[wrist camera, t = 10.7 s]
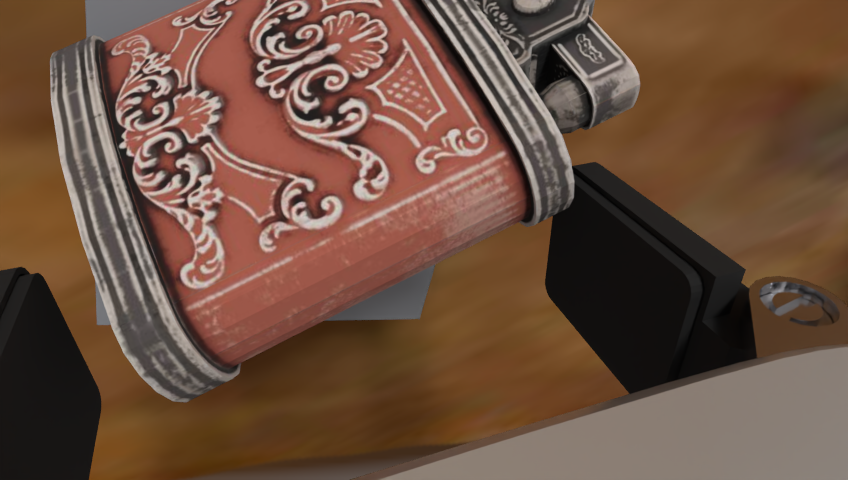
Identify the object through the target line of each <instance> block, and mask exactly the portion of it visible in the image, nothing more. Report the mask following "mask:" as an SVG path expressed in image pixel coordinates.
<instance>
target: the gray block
mask: <svg viewBox="0 0 848 480" xmlns="http://www.w3.org/2000/svg"><path fill="white" fill-rule="evenodd" d="M196 1H199V0H85V4H86V32H87V38H88V37H90V36H93V35H95V36H99V37H101V38H102V39H103V40H104V41H108V40H110V39H113V38H115V37H117V36H119V35H122V34H124V33H126V32H128V31H131V30H133V29H135V28H138V27H140V26H142V25H144V24H147V23H149V22H151V21H153V20H156V19H158V18H160V17H162V16H165V15H167V14H169V13H171V12H174V11H176V10H178V9H181V8H183V7H185V6H187V5H190V4H192V3H194V2H196ZM434 267H435V265H433V266H431V267H429V268H427V269H425V270H423V271H421V272H419V273H417V274H415V275H413V276H411V277H409V278H407V279H405V280H403V281H401V282H399V283H397V284H395V285H393V286H391V287H389V288H387V289H385V290H383V291H381V292H379V293H377V294H375V295H373V296H371V297H369V298H368V299H366V300H364V301H362V302H360V303H358V304H356V305H354V306H352V307H350V308H348V309H346V310H344V311H342V312H340V313H338V314H336V315H334V316H332V317H330V318H328V319H326V320H324V321H332V320H386V319H420V315H421V312H422V308H423V305H424V302H425V298H426V295H427V291H428V288H429V284H430V281H431V277H432V274H433V271H434ZM95 282H96V280H95ZM96 310H97V325H111V323H110V320H109V318H108V315H107V312H106V309H105V306H104V303H103V300H102V297H101V295H100V292H99V289H98V286H97V283H96Z"/></svg>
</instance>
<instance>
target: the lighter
mask: <svg viewBox="0 0 848 480" xmlns="http://www.w3.org/2000/svg"><path fill="white" fill-rule="evenodd" d="M594 2H595V0H199V1H196V2H194V3H192V4H190V5H187V6H185V7H183V8H181V9H178V10H176V11H174V12H171V13H169V14H167V15H165V16H162V17H160V18H158V19H156V20H153V21H151V22H149V23H147V24H144V25H142V26H140V27H138V28H135V29H133V30H131V31H128V32H126V33H124V34H122V35H119V36H117V37H115V38H113V39H110V40H108V41H104V40H103V39H102V38H101V37H99V36H95V35H93V36H90V37H88V38H86V39H83V40H81V41H79V42H77V43H74V44H72V45H70V46H68V47H65V48H63V49H61V50H58V51H56V52H54V53H53V54H52V56H51V58H50V75H51V104H52V111H53V117H54V123H55V130H56V136H57V142H58V149H59V155H60V162H61V166H62V169H63V173H64V177H65V180H66V184H67V188H68V191H69V195H70V199H71V203H72V206H73V210H74V214H75V217H76V221H77V225H78V228H79V232H80V236H81V240H82V243H83V246H84V249H85V251H86V254H87V257H88V260H89V263H90V266H91V269H92V272H93V274H94V277H95V280H96V283H97V286H98V289H99V292H100V295H101V297H102V300H103V303H104V306H105V309H106V312H107V315H108V318H109V320H110V323H111V326H112V329H113V331H114V333H115V336H116V338H117V340H118V342H119V344H120V346H121V348H122V350H123V353H124V354H125V356H126V357H127V358H128V360H129V361H130V363H131V364H132V365H133V367H134V368H135V370H136V371H137V373H138V374H139V375H140V376H141V377H142V378H143V379H144V380H145V381H146V382H147V383H148V384H149V385H150V386H151V387H152V388H153V389H154V390H155V391H156V392H157V393H159V394H161V395H163V396H165V397H166V398H168V399H170V400H172V401H176V402H188V401H190V400H192V399H194V398H196V397H198V396H199V395H201V394H203V393H205V392H207V391H209V390H211V389H213V388H215V387H217V386H219V385H221V384H223V383H225V382H227V381H229V380H231V379H233V378H234V377H235V376H237V375H238V374H239V373H240V367H241V362H243V361H245V360H247V359H249V358H251V357H253V356H255V355H257V354H259V353H261V352H263V351H265V350H267V349H269V348H271V347H273V346H275V345H277V344H279V343H281V342H283V341H285V340H287V339H289V338H291V337H293V336H295V335H297V334H299V333H301V332H302V331H304V330H306V329H308V328H310V327H312V326H314V325H316V324H318V323H320V322H322V321H324V320H326V319H328V318H330V317H332V316H334V315H336V314H338V313H340V312H342V311H344V310H346V309H348V308H350V307H352V306H354V305H356V304H358V303H360V302H362V301H364V300H366V299H368V298H369V297H371V296H373V295H375V294H377V293H379V292H381V291H383V290H385V289H387V288H389V287H391V286H393V285H395V284H397V283H399V282H401V281H403V280H405V279H407V278H409V277H411V276H413V275H415V274H417V273H419V272H421V271H423V270H425V269H427V268H429V267H431V266H433V265H435V264H437V263H438V262H440V261H442V260H444V259H446V258H448V257H450V256H452V255H454V254H456V253H458V252H460V251H462V250H464V249H466V248H468V247H470V246H472V245H474V244H476V243H478V242H480V241H482V240H484V239H486V238H488V237H490V236H492V235H494V234H496V233H498V232H500V231H502V230H504V229H505V228H507V227H509V226H511V225H513V224H515V223H517V222H520V223H521V224H523V225H524V226H526V227H529V226H533V225H535V224H537V223H539V222H541V221H543V220H545V219H547V218H549V217H551V216H553V215H555V214H557V213H559V212H561V211H563V210H565V209H567V208H569V206H570V204H571V202H572V200H573V198H574V183H575V181H574V175H573V170H572V164H571V159H570V156H569V154H568V151H567V148H566V145H565V142H564V140H563V137H562V134H563V133H571V132H573V131H575V130H577V129H579V128H583V129H584V130H587V129H589V128H591V127H594V126H596V125H598V124H600V123H602V122H604V121H606V120H608V119H610V118H612V117H614V116H616V115H618V114H620V113H622V112H624V111H626V110H628V109H630V108H632V107H633V106H634V104H635V102H636V100H637V97H638V94H639V88H640V80H639V75H638V72H637V70H636V68H635V66H634V64H633V63H632V62H631V61H630V59H629V58H628V57H627V56H626V54H625V53H624V52H623V51H622V50H621V49H620V48H619V47H618V46H617V45H616V44H615V43H614V42H613V40H612V39H611V38H610V37H609V36H608V35H607V34H606V33H605V32H604V31H603V30H602V29H601V27H600V26H599V25H598V24H597V23H596V22H595V21H594V20H593V19H592V13H593V7H594Z"/></svg>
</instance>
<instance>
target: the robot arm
mask: <svg viewBox="0 0 848 480" xmlns="http://www.w3.org/2000/svg"><path fill="white" fill-rule="evenodd" d="M572 170H573V175H574V181H575V183H574V198H573V200H572V202H571V204H570V206H569V208H567V209H565V210H563V211H561V212H559V213H557V214H555V215H553V220H552V228H551V237H550V245H549V254H548V262H547V271H546V279H545V285H546V290H547V293H548V295H549V297H550V298H551V300H552V301H553V302H554V303H555V305H556V306H557V307H558V308H559V309H560V311H561V312H562V313H563V314H564V315H565V317H566V318H567V319H568V320H569V321H570V323H571V324H572V325H573V326H574V327H575V329H576V330H577V331H578V332H579V333H580V335H581V336H582V337H583V338H584V339H585V341H586V342H587V343H588V344H589V345H590V347H591V348H592V349H593V350H594V351H595V353H596V354H597V355H598V356H599V357H600V359H601V360H602V361H603V362H604V363H605V365H606V366H607V367H608V368H609V369H610V371H611V372H612V373H613V374H614V375H615V377H616V378H617V379H618V380H619V381H620V383H621V384H622V385H623V386H624V387H625V389H626V390H627V391H628V392H629V393H630V394H628V395H625V396H622V397H618V398H615V399H612V400H609V401H605V402H602V403H599V404H595V405H592V406H589V407H585V408H582V409H579V410H575V411H572V412H569V413H565V414H562V415H559V416H555V417H552V418H549V419H546V420H542V421H539V422H536V423H532V424H529V425H526V426H523V427H519V428H516V429H513V430H510V431H506V432H503V433H500V434H496V435H493V436H490V437H487V438H483V439H480V440H477V441H474V442H470V443H467V444H464V445H461V446H457V447H454V448H451V449H448V450H444V451H441V452H438V453H435V454H431V455H428V456H425V457H422V458H419V459H415V460H412V461H409V462H406V463H402V464H399V465H396V466H393V467H390V468H386V469H383V470H380V471H377V472H373V473H370V474H367V475H364V476H360V477H357V478H354V479H350V480H848V308H847V306H846V305H845V304H844V303H843V302H842V301H841V300H840V299H839V298H838V297H837V296H836V295H834V294H832V293H831V292H829V291H827V290H826V289H824V288H822V287H820V286H817V285H815V284H812V283H810V282H807V281H803V280H800V279H796V278H791V277H781V276H774V277H765V278H762V279H759V280H756V281H755V282H754V283H753V284H752V285H751V286H750V288H747V287H746V286H745V285H743V284H742V283H741V281H742V278H743V276H744V273H745V270H746V269H744V268H743V267H742V266H740V265H739V264H737V263H736V262H735V261H733V260H732V259H730V258H729V257H728V256H726V255H725V254H723V253H722V252H721V251H719V250H718V249H717V248H715V247H714V246H712V245H711V244H710V243H708V242H707V241H705V240H704V239H703V238H701V237H700V236H699V235H697V234H696V233H694V232H693V231H692V230H690V229H689V228H687V227H686V226H685V225H683V224H682V223H680V222H679V221H678V220H676V219H675V218H674V217H672V216H671V215H669V214H668V213H667V212H665V211H664V210H662V209H661V208H660V207H658V206H657V205H655V204H654V203H653V202H651V201H650V200H649V199H647V198H646V197H644V196H643V195H642V194H640V193H639V192H637V191H636V190H635V189H633V188H632V187H631V186H629V185H628V184H626V183H625V182H624V181H622V180H621V179H619V178H618V177H617V176H615V175H614V174H612V173H611V172H610V171H608V170H607V169H606V168H604V167H603V166H601V165H600V164H598V163H596V162H593V163H587V164H581V165H576V166H572ZM100 413H101V397H100V392H99V389H98V387H97V385H96V383H95V381H94V378H93V376H92V374H91V372H90V370H89V368H88V366H87V364H86V362H85V360H84V358H83V356H82V354H81V352H80V350H79V348H78V346H77V344H76V342H75V340H74V338H73V336H72V334H71V332H70V330H69V328H68V326H67V324H66V322H65V319H64V317H63V315H62V313H61V311H60V309H59V307H58V305H57V303H56V301H55V299H54V297H53V295H52V293H51V291H50V289H49V287H48V285H47V283H46V281H45V279H44V278H43V276H42V275H41V274H39V273H35V274H30V273H29V272H28V271H27V270H26V269H25V268H22V267H18V268H13V269H7V270H2V271H0V480H89V474H90V469H91V463H92V457H93V452H94V446H95V441H96V435H97V430H98V424H99V418H100Z"/></svg>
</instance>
